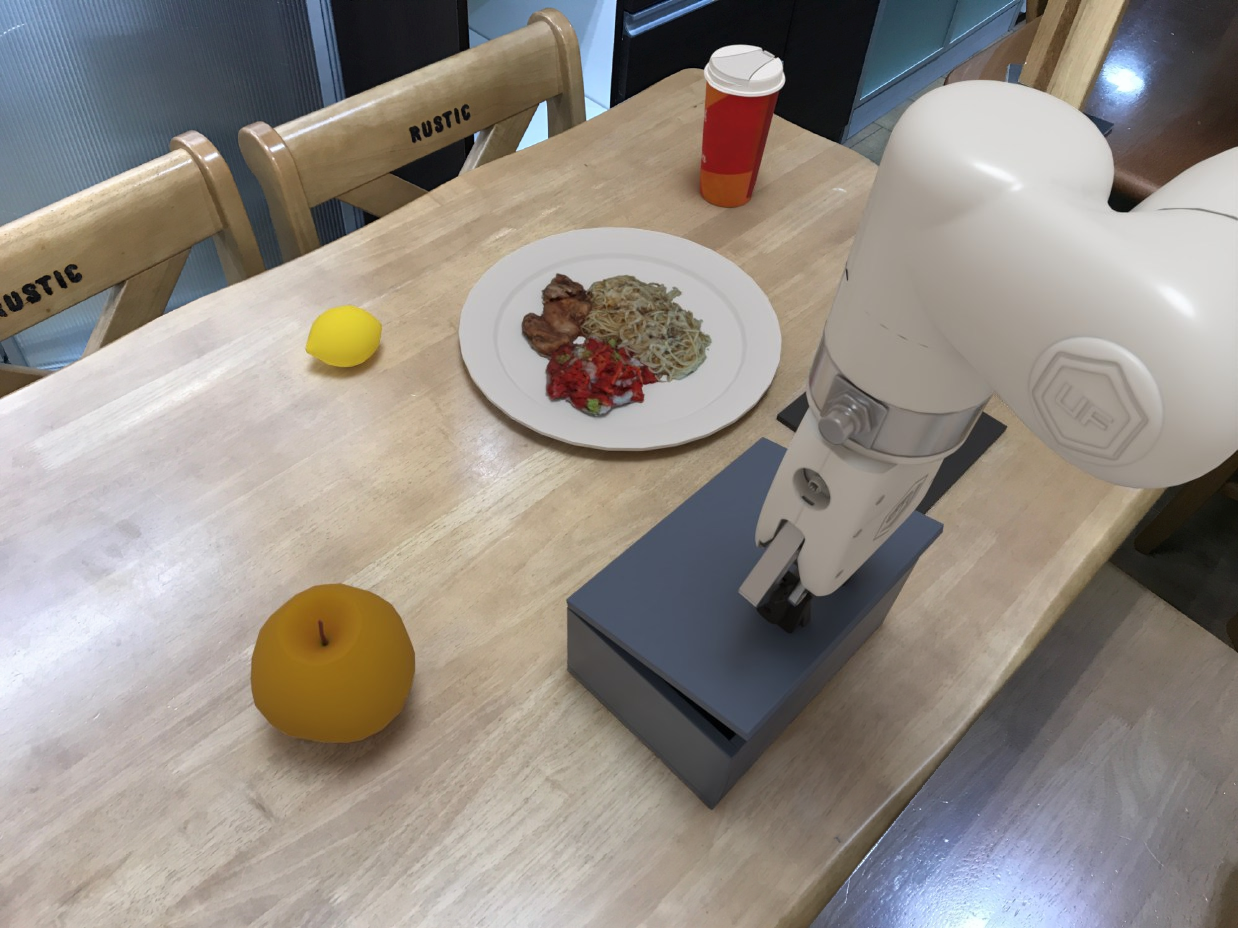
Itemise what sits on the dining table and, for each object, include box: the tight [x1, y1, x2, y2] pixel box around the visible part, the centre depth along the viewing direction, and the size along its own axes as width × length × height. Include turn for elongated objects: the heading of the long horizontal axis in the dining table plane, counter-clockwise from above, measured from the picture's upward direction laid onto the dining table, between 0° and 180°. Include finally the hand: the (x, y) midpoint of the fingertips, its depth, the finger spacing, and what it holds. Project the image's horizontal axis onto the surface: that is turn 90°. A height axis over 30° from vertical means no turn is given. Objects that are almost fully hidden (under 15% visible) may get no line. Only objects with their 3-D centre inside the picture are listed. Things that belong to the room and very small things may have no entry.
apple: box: [250, 582, 416, 744], centre depth 56 cm, size 10×10×12 cm
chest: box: [566, 557, 920, 810], centre depth 61 cm, size 14×20×9 cm
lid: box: [565, 436, 945, 741], centre depth 54 cm, size 14×20×5 cm
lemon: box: [304, 304, 383, 368], centre depth 79 cm, size 7×5×5 cm
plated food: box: [458, 226, 782, 452], centre depth 83 cm, size 30×30×3 cm
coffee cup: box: [699, 44, 786, 208], centre depth 94 cm, size 8×8×15 cm
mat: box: [775, 390, 1008, 515], centre depth 78 cm, size 15×14×1 cm
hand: (803, 583), depth 53 cm, fingers closed on lid, 5 cm apart
